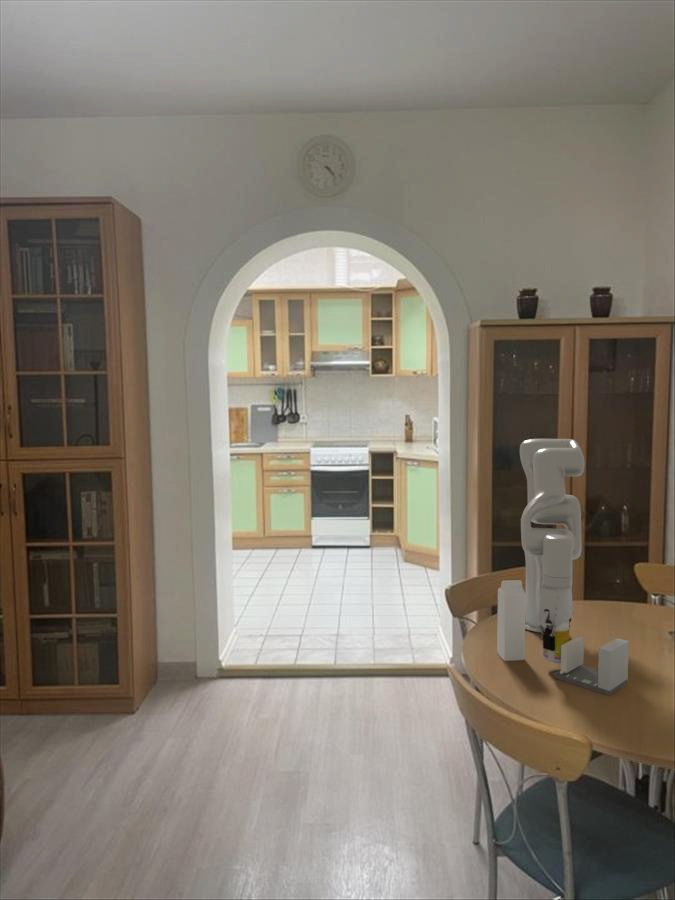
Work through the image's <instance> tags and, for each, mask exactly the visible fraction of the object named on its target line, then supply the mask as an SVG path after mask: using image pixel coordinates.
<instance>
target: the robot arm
mask: <svg viewBox="0 0 675 900" xmlns="http://www.w3.org/2000/svg"><path fill="white" fill-rule="evenodd" d="M519 458H520V462H521V466H522V468H523V471H524V474H525V476H526V477H525V478H526V483H527V484H526V485H527V505H526V506H525V508H524V510H523V512H522V514H521V519H520V534H521V535H520V536H521V537H520V538H521V546H522V550H523V551H524V557H525V559H524V560H525V594H526V603H525V630H527V631H530V632H535V633H541V634H542V649H543V648H544V649H547V650H550V651H554V650H555V636H553V635H554V631H555V627H556V626H557V625H559V624H561V623H563V621H564V622H567V623H568V624H569V630H570V628H571V622H572V617H573V614H574V610H573V592H572V588H573V560H577V559H579V558H580V556H581V553H582V548H583V547H582V544H583V543H582V511H581V504H580V501H579V499H578V498H577V497H576V496H575V495H572V494H566V485H565V484H566V483H565V477H580V476H582V475H583V473H584V471H585V465H586V464H585V457H584V453H583V451H582V449H581V447H580V445H579V443H578V442H577V440H575V439H574V438H573V439H572V438H530V439H526V440H524V441H522V442H521V443H520V445H519ZM532 523H534V524H538V525H539V524H540V525H563V526H564V527H565V528H546V527H532ZM564 617H565V618H564ZM563 618H564V619H563ZM548 621H550V622H552V624H550V623H548ZM547 626H551V631H550V629H549V628H547Z"/></svg>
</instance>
